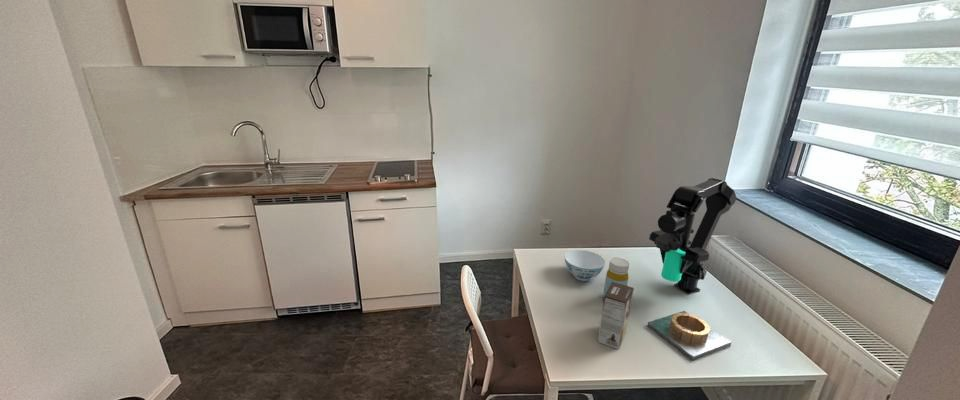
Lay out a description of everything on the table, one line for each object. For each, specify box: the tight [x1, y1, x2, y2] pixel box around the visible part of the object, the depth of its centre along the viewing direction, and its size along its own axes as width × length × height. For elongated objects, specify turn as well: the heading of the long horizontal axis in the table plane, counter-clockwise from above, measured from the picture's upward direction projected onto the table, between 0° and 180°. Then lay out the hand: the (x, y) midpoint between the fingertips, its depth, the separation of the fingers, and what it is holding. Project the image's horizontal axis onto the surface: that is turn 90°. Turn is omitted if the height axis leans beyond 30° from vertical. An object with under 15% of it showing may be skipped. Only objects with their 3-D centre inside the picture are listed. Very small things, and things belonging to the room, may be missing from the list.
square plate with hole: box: [646, 310, 732, 362], centre depth 113 cm, size 16×16×4 cm
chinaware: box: [564, 249, 606, 282], centre depth 144 cm, size 15×15×8 cm
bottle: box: [602, 257, 630, 299], centre depth 128 cm, size 7×7×15 cm
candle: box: [660, 249, 686, 283], centre depth 126 cm, size 6×6×12 cm
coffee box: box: [597, 282, 635, 350], centre depth 110 cm, size 9×6×16 cm
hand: (672, 268), depth 127 cm, fingers closed on candle, 7 cm apart
